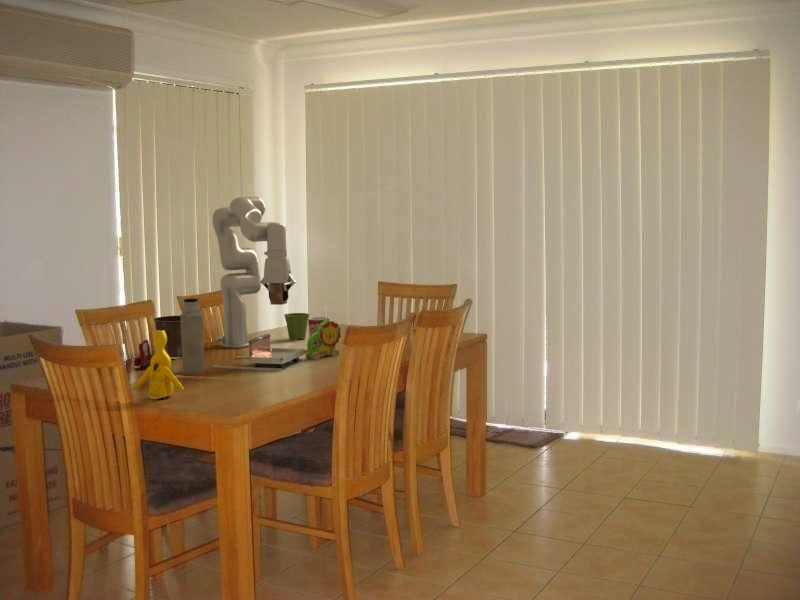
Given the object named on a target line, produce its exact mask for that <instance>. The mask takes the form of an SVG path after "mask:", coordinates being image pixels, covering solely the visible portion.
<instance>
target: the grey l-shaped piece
mask: <svg viewBox="0 0 800 600" xmlns="http://www.w3.org/2000/svg"><path fill="white" fill-rule="evenodd" d="M247 341H248V343H249V346H248V352H249V353H248V357H249V359H248V360H249V363H250V364H254V365H255V366H254V367H260V368H263V364H267V365H268V364H272V365H273V364H274V365H276V366H277V367H276V368H282V369H283V368H284V367H285V364H286V363H288V362H290V361H291V360H293V363H297V362H300V361H299V359H300V357H301V356H304V349H303V348H283V347H281V348H279V347H271V334H270V333H266V334H263V335H260V336H257V337H255V338H252V339H249V340H247Z"/></svg>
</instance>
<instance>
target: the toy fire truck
mask: <svg viewBox="0 0 800 600" xmlns="http://www.w3.org/2000/svg"><path fill="white" fill-rule="evenodd" d="M138 351H139V356H138V358H135V359H134V362H133V364H134V365H133V366H139V365H141V366H146V365H147V366H151V365H150V360H151V358H152V357H153V355H152V350H151V346H150V344H149V340H148V339H144V340H143V341H141V342H140V343H138ZM147 366H146V367H147Z"/></svg>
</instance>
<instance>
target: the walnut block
mask: <svg viewBox="0 0 800 600" xmlns="http://www.w3.org/2000/svg"><path fill="white" fill-rule="evenodd" d="M283 291H284V288H283V284H270V299H269V301H270V305H275V306H276V305H279V306H280V305H281V306H283V305H286V304H288V300H287V301H283Z"/></svg>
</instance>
